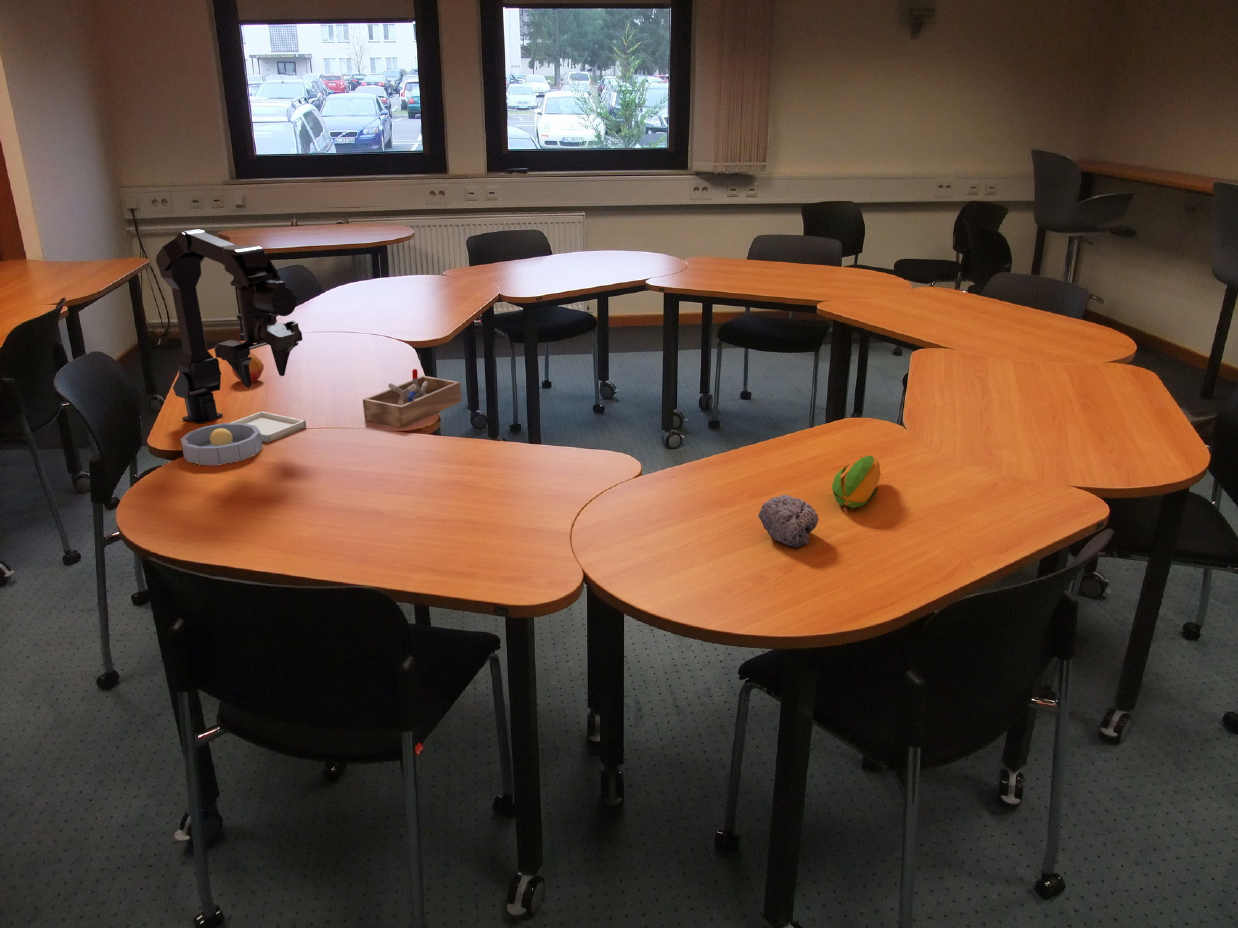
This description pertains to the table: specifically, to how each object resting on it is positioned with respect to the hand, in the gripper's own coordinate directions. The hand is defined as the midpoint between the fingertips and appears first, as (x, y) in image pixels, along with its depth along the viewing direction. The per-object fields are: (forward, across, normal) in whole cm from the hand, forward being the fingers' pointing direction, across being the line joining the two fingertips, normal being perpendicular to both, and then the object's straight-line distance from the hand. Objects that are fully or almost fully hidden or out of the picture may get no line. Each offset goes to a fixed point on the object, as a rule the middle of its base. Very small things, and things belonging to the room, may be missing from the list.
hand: (265, 381), depth 192 cm
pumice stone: (+13, +6, -115) cm, 115 cm away
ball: (+11, -10, +5) cm, 15 cm away
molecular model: (+14, +31, -14) cm, 36 cm away
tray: (+14, +4, +7) cm, 16 cm away
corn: (+13, +30, -121) cm, 125 cm away
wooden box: (+14, +31, -14) cm, 36 cm away
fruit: (+14, +30, +40) cm, 52 cm away
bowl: (+14, -10, +5) cm, 17 cm away
